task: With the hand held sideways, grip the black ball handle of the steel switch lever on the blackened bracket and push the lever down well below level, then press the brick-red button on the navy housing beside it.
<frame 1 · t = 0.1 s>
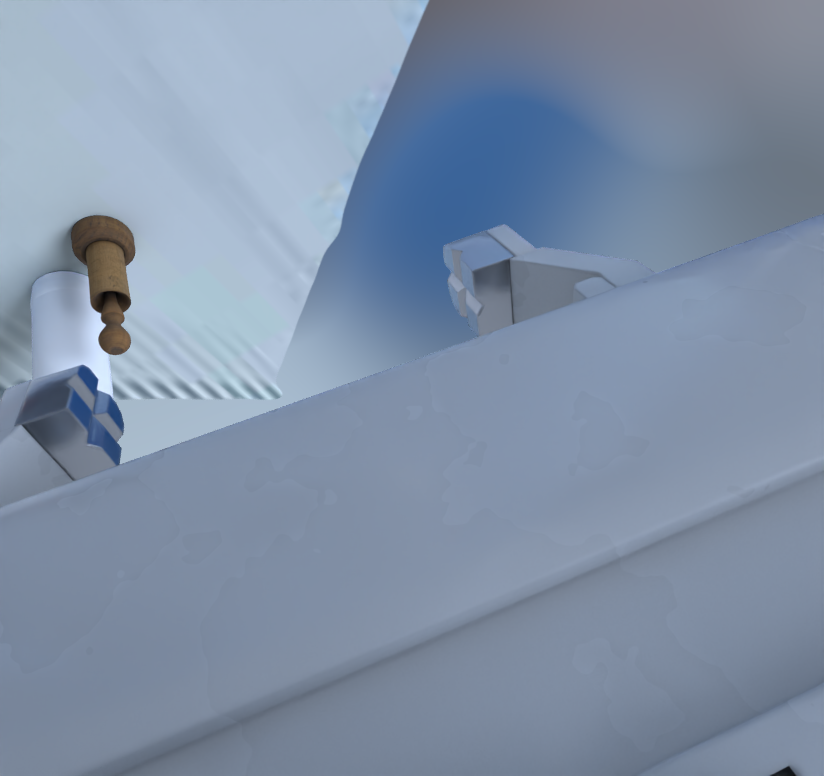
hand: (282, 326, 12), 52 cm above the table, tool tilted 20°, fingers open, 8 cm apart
bottle: (67, 291, 70), on the table
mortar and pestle: (103, 236, 66), on the table
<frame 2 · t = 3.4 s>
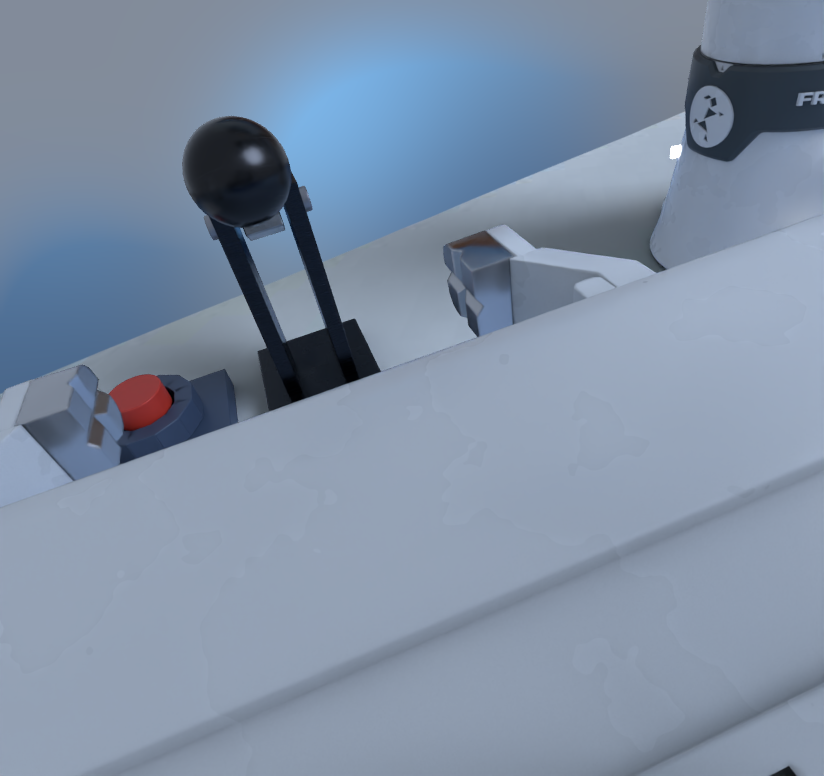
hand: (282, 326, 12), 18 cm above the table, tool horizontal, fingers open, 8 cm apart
switch bracket: (322, 379, 40), on the table
lever: (250, 196, 26), point 16 cm above the table, hinge at 28.0°
button: (139, 402, 35), point 4 cm above the table, slide at 0.1 cm
button housing: (168, 443, 38), on the table
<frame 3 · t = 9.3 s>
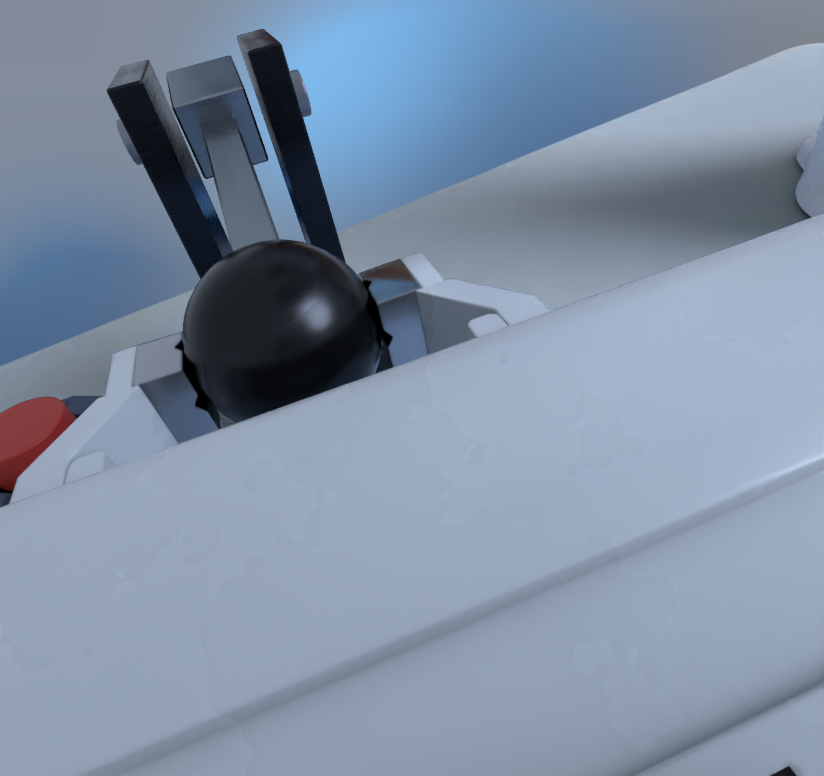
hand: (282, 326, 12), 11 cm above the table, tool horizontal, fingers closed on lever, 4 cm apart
switch bracket: (328, 400, 26), on the table
lever: (246, 208, 14), point 12 cm above the table, hinge at -11.6°, touching gripper
button: (31, 442, 22), point 4 cm above the table, slide at 0.1 cm
button housing: (87, 502, 24), on the table
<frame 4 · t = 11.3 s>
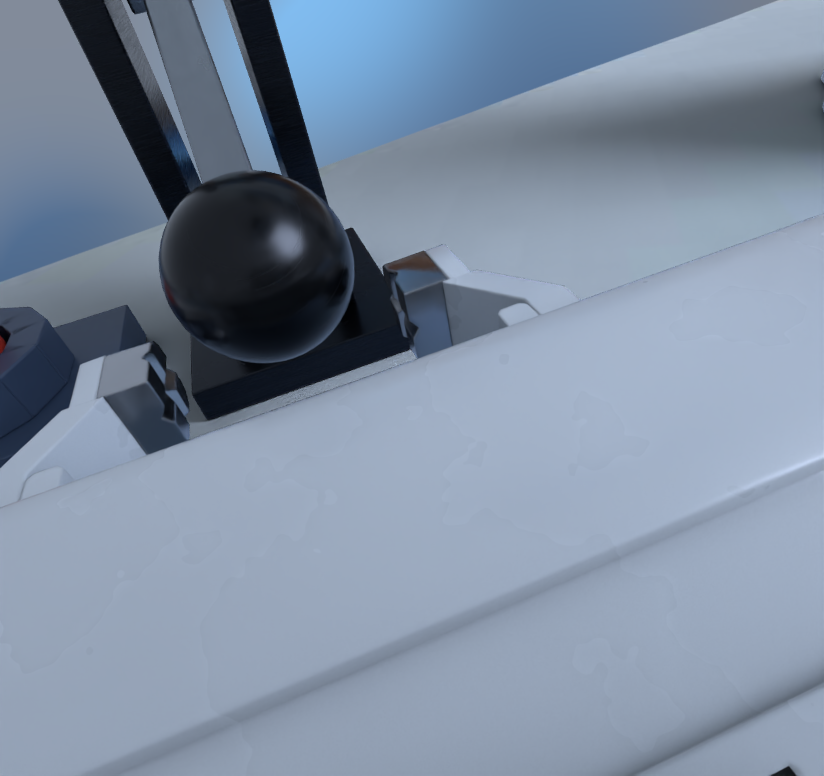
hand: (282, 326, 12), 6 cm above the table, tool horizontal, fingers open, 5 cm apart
switch bracket: (295, 321, 23), on the table
lever: (198, 88, 13), point 10 cm above the table, hinge at -33.5°
button housing: (12, 431, 21), on the table
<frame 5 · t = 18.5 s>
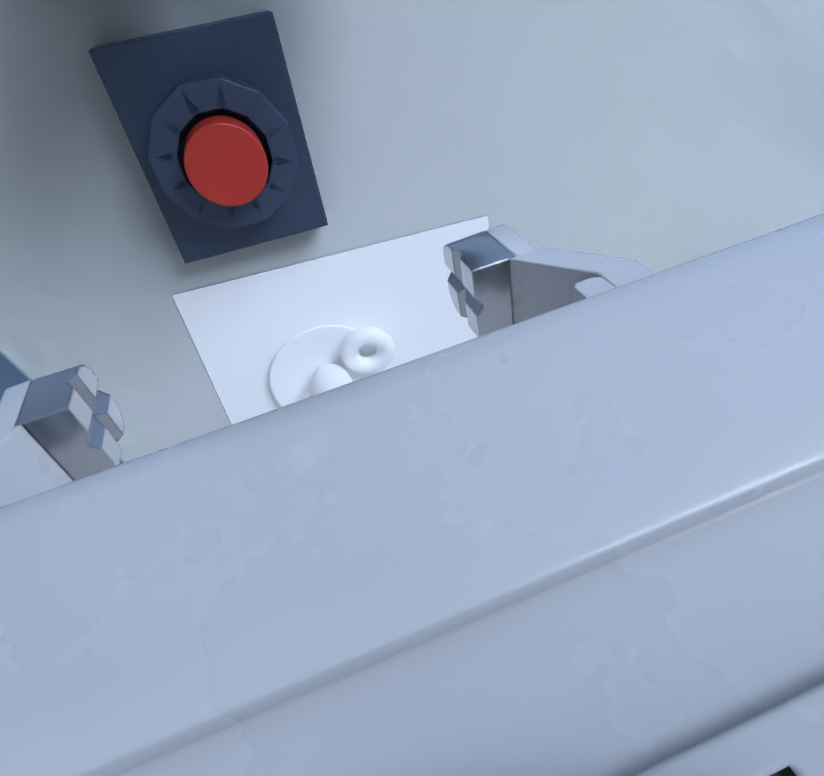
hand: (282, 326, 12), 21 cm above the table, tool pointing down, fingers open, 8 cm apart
button: (226, 161, 25), point 4 cm above the table, slide at 0.1 cm
button housing: (223, 142, 28), on the table
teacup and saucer: (366, 378, 40), on the table
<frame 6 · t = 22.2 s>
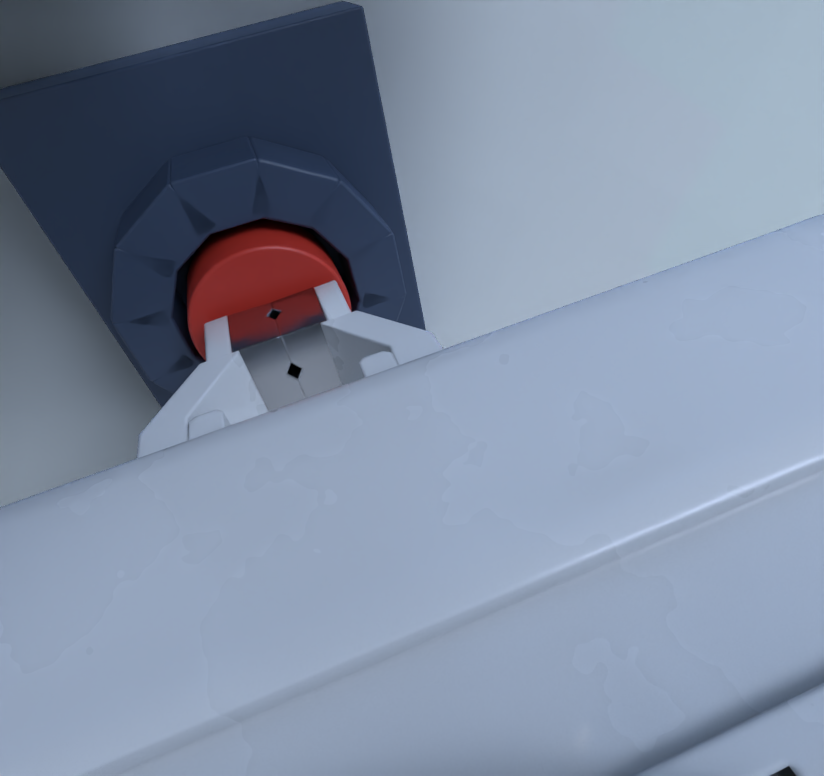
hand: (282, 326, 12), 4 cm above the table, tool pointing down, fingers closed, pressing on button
button: (269, 304, 13), point 3 cm above the table, slide at -0.6 cm, touching gripper
button housing: (254, 248, 15), on the table
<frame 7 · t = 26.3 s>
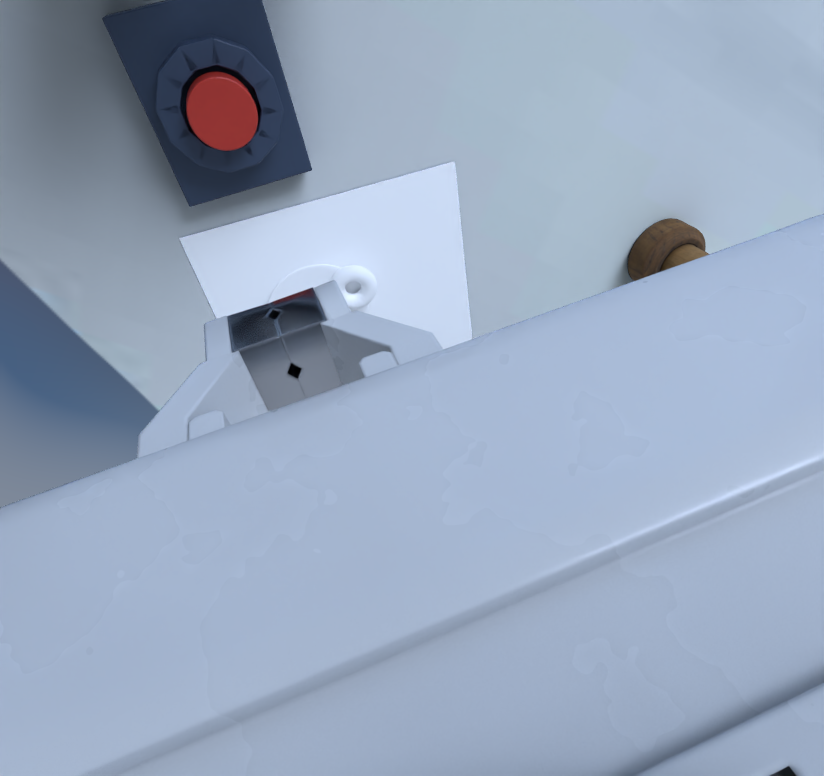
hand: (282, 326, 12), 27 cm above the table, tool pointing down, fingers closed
button: (222, 111, 29), point 4 cm above the table, slide at 0.1 cm
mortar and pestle: (656, 251, 51), on the table
button housing: (218, 97, 32), on the table
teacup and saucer: (353, 315, 45), on the table
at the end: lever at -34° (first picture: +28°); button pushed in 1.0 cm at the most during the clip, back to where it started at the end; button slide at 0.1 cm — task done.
